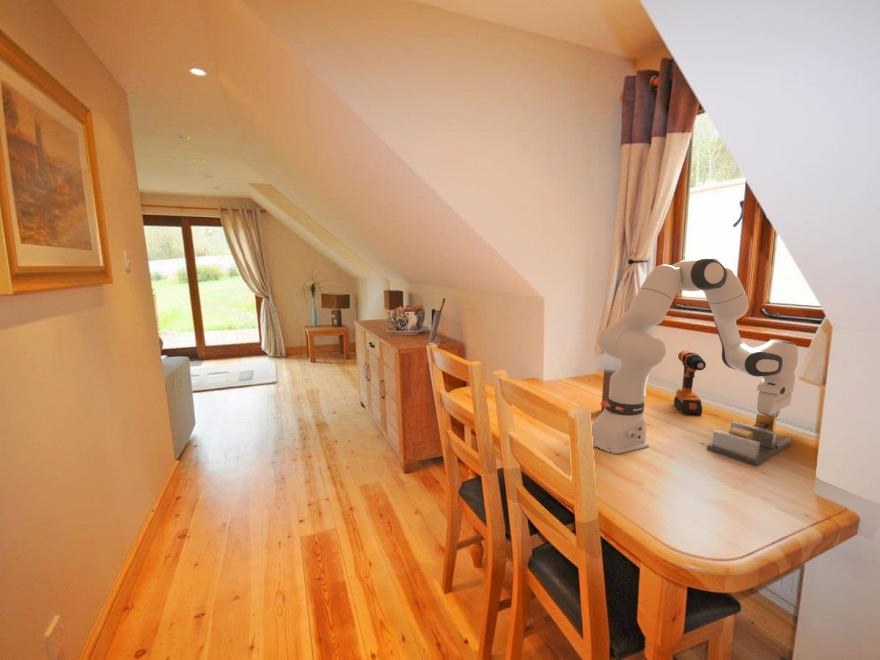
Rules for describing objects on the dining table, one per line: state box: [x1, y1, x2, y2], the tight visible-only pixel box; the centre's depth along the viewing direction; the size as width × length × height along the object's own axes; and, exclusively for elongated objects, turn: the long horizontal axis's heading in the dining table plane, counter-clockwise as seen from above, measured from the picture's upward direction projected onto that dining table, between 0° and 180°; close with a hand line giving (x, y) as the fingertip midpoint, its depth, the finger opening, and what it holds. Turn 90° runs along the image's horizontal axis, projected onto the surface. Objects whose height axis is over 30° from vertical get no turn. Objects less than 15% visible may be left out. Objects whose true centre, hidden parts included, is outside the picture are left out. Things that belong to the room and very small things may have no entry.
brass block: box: [729, 427, 753, 440], centre depth 133 cm, size 4×5×6 cm
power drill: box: [673, 349, 707, 415], centre depth 168 cm, size 22×7×25 cm, turn 165°
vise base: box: [706, 429, 792, 467], centre depth 137 cm, size 28×14×6 cm, turn 123°
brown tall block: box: [600, 369, 617, 414], centre depth 167 cm, size 9×4×18 cm, turn 66°
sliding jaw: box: [730, 412, 777, 449], centre depth 140 cm, size 13×12×7 cm
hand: (772, 421), depth 147 cm, fingers closed
